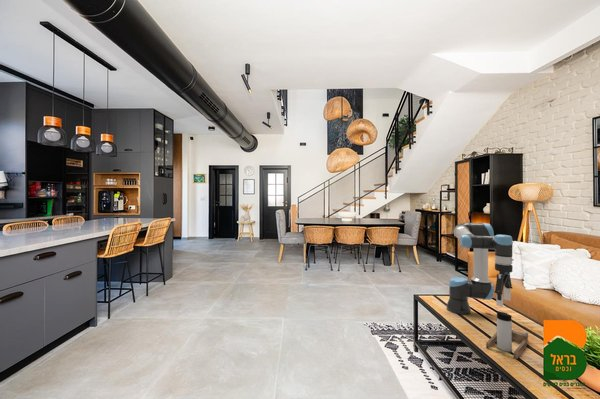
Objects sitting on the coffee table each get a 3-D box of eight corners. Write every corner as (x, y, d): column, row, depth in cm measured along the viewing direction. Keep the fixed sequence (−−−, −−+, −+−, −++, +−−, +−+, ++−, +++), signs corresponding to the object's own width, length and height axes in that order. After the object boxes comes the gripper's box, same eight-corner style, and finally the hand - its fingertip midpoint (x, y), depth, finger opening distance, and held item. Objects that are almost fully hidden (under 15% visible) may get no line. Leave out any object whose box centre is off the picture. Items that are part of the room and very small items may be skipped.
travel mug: (493, 347, 142) (493, 310, 142) (504, 346, 142) (504, 310, 143) (503, 353, 136) (503, 315, 136) (515, 353, 136) (514, 314, 136)
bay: (486, 348, 141) (486, 338, 141) (501, 332, 158) (501, 324, 158) (516, 359, 131) (516, 349, 131) (529, 341, 148) (529, 332, 148)
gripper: (505, 268, 130) (505, 311, 130) (518, 261, 145) (518, 299, 145) (487, 265, 136) (487, 306, 136) (501, 259, 151) (502, 295, 151)
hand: (503, 302), depth 140 cm, fingers open, 13 cm apart
